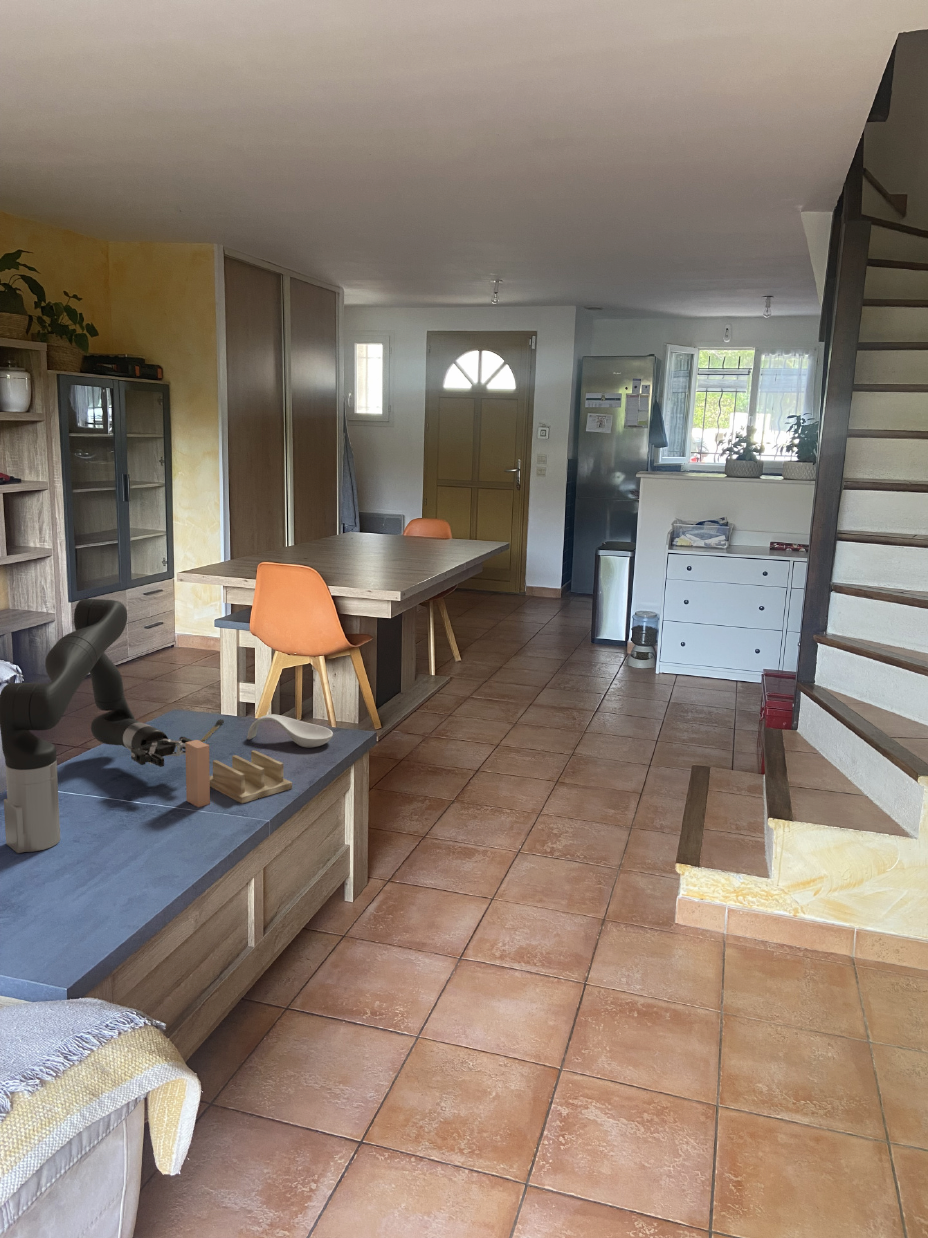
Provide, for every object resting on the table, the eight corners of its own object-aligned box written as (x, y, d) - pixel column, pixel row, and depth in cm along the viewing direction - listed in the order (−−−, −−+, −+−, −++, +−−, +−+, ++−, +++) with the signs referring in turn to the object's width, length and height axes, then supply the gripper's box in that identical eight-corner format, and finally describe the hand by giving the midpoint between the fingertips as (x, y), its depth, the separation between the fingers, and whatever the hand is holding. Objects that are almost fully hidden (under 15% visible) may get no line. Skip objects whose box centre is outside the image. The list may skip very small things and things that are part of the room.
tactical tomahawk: (214, 751, 243) (214, 747, 242) (190, 747, 243) (190, 743, 243) (239, 725, 263) (240, 722, 263) (217, 722, 263) (218, 718, 263)
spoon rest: (338, 740, 253) (338, 715, 252) (325, 754, 242) (325, 728, 241) (257, 732, 257) (257, 707, 256) (241, 745, 246) (241, 720, 244)
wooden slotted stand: (241, 803, 207) (241, 778, 206) (204, 783, 217) (204, 759, 216) (292, 788, 217) (292, 764, 216) (253, 769, 228) (253, 747, 226)
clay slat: (198, 807, 204) (197, 748, 201) (186, 800, 207) (185, 742, 204) (209, 804, 206) (209, 745, 203) (198, 797, 209) (197, 739, 206)
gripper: (116, 732, 215) (150, 749, 204) (171, 720, 225) (206, 736, 214) (117, 762, 216) (151, 781, 205) (172, 749, 226) (207, 766, 216)
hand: (179, 758), depth 210 cm, fingers open, 8 cm apart
